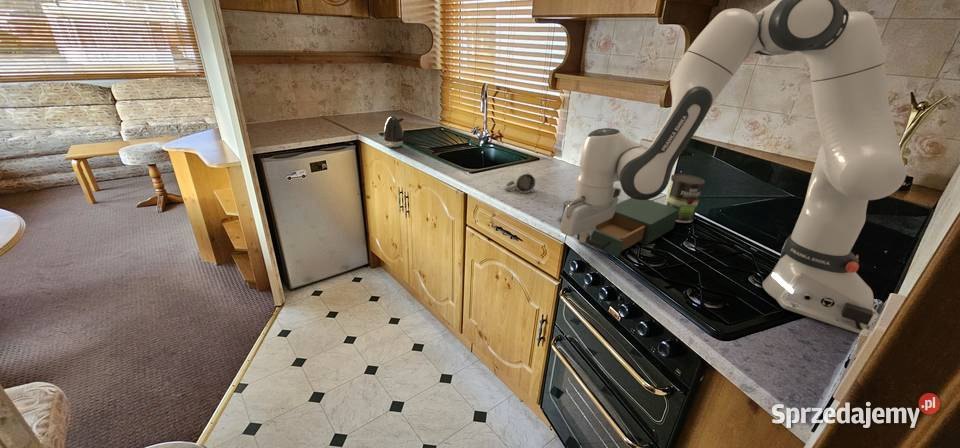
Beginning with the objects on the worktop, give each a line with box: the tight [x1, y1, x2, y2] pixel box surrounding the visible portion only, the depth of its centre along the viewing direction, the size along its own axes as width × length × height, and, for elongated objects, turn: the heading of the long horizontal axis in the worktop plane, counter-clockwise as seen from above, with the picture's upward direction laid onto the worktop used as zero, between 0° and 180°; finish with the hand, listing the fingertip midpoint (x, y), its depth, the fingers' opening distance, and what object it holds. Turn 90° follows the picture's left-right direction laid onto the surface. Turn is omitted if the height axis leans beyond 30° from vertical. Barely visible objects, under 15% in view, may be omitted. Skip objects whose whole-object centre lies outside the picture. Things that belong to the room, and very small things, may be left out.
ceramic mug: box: [505, 169, 536, 194], centre depth 157 cm, size 11×8×8 cm
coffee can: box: [663, 173, 706, 224], centre depth 138 cm, size 10×10×14 cm
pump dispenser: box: [383, 115, 405, 149], centre depth 205 cm, size 10×10×15 cm
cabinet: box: [614, 197, 679, 246], centre depth 129 cm, size 19×15×7 cm
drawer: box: [576, 214, 647, 258], centre depth 118 cm, size 22×14×5 cm, turn 132°
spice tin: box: [561, 199, 572, 219], centre depth 132 cm, size 5×5×6 cm
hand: (584, 240), depth 109 cm, fingers closed
